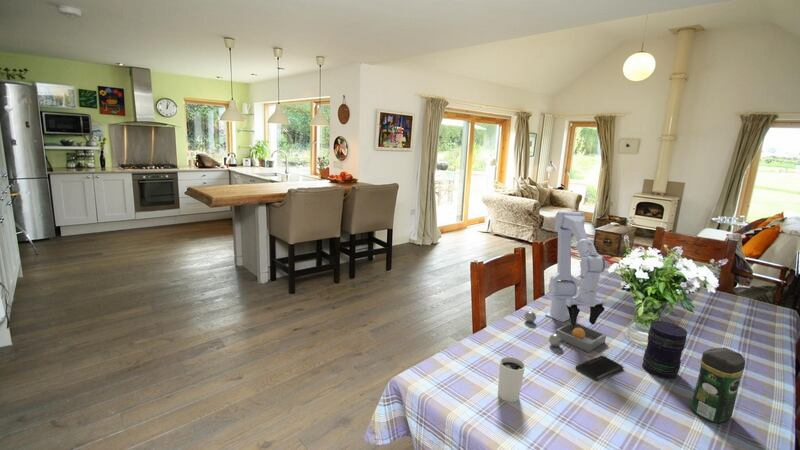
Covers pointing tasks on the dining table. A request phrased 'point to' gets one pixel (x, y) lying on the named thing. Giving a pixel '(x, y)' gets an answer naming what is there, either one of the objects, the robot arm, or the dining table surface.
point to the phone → (599, 368)
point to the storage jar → (664, 349)
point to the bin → (586, 344)
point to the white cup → (510, 378)
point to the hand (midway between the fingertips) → (582, 323)
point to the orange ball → (578, 333)
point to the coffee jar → (717, 384)
